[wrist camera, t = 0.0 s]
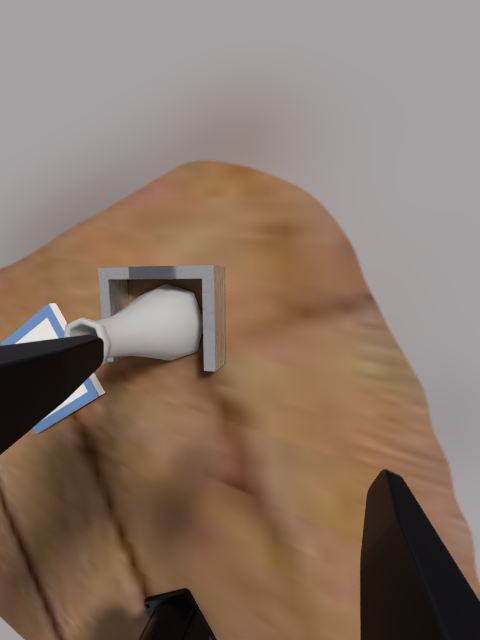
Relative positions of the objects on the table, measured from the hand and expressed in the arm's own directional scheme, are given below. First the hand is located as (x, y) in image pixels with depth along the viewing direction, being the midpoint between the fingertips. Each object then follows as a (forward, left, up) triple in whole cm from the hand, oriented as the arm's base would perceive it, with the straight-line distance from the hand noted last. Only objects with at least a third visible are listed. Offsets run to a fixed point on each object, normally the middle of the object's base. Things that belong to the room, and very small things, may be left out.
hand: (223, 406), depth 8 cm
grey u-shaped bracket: (-9, +6, -15) cm, 19 cm away
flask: (-9, +6, -16) cm, 19 cm away
